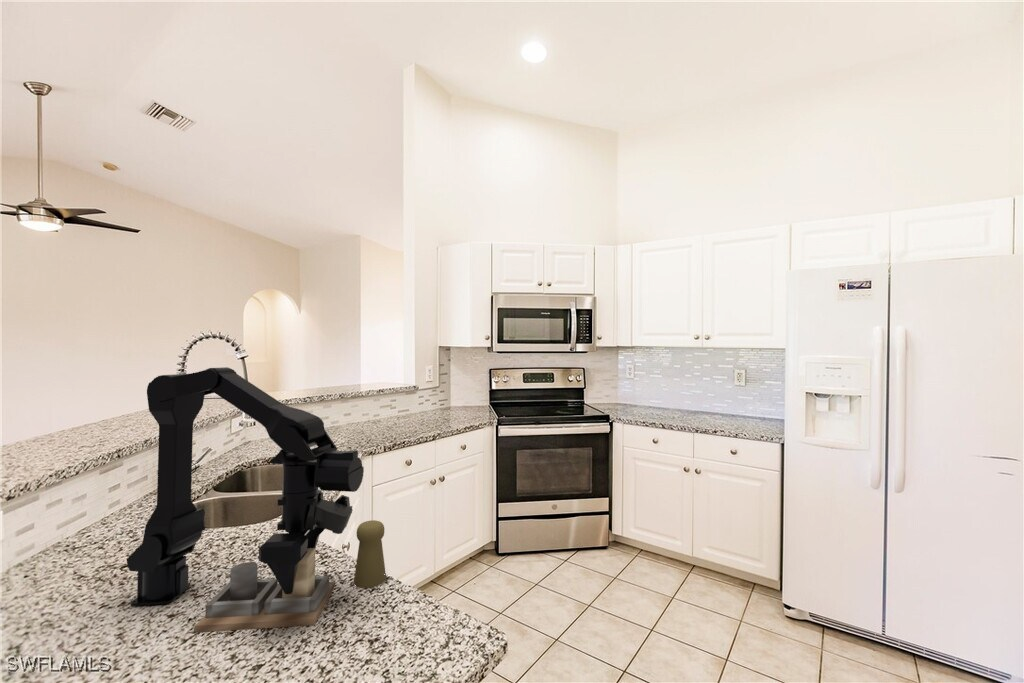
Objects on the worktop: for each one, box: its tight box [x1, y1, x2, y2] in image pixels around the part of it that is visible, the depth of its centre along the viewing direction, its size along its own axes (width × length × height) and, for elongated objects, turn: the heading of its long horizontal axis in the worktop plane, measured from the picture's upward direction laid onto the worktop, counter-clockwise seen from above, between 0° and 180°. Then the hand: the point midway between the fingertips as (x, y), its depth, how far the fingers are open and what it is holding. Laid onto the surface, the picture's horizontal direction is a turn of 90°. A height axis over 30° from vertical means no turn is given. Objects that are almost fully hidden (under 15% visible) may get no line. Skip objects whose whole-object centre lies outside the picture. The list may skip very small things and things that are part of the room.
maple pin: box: [282, 548, 316, 598], centre depth 79 cm, size 4×4×8 cm
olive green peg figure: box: [353, 520, 387, 589], centre depth 88 cm, size 6×6×11 cm
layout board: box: [194, 561, 336, 633], centre depth 78 cm, size 18×12×7 cm, turn 97°
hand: (298, 579), depth 78 cm, fingers open, 9 cm apart
